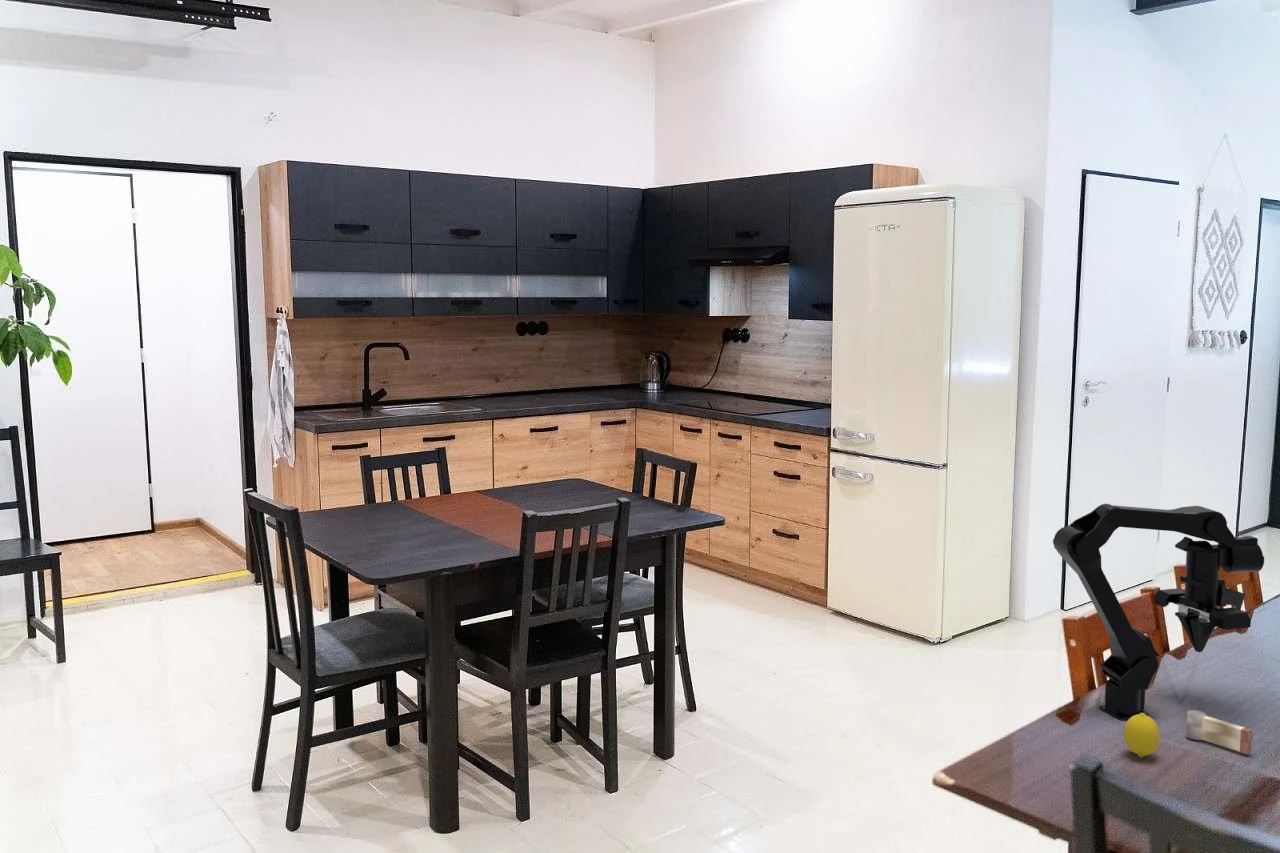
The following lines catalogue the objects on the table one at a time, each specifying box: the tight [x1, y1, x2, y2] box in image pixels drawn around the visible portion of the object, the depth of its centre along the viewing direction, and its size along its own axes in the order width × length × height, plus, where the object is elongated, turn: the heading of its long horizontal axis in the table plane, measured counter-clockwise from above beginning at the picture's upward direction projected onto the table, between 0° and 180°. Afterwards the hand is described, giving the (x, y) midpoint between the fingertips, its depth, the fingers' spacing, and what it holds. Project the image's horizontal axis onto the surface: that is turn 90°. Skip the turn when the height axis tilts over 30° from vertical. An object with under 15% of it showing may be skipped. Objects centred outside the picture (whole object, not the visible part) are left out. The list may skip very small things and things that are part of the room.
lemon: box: [1123, 713, 1160, 758], centre depth 180 cm, size 6×6×8 cm
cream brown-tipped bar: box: [1186, 709, 1254, 755], centre depth 184 cm, size 11×3×4 cm, turn 34°
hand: (1198, 651), depth 200 cm, fingers closed
